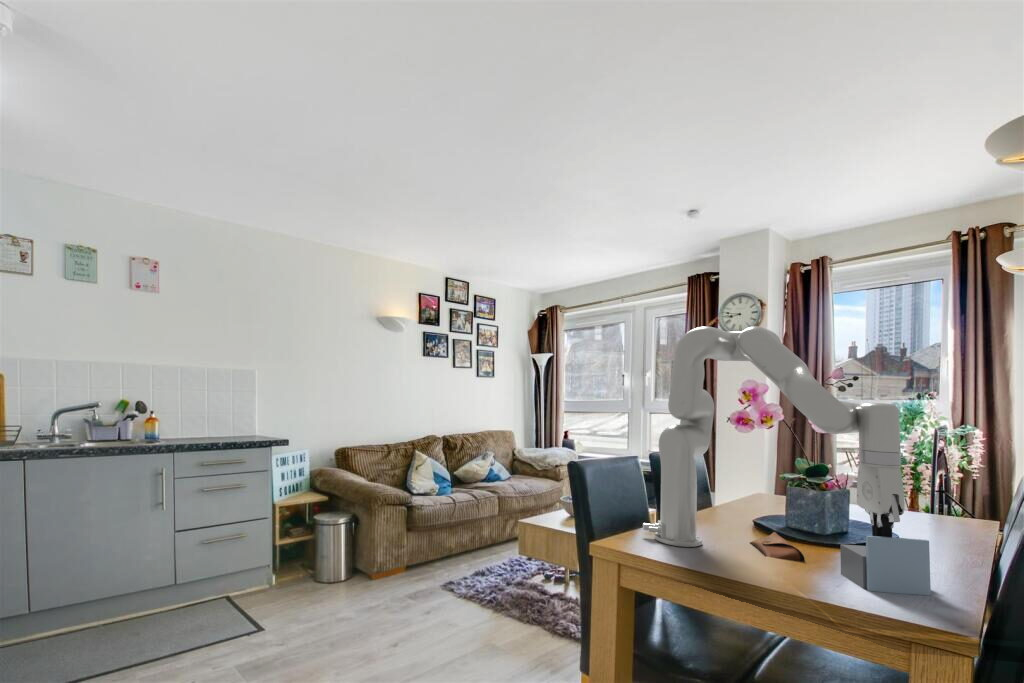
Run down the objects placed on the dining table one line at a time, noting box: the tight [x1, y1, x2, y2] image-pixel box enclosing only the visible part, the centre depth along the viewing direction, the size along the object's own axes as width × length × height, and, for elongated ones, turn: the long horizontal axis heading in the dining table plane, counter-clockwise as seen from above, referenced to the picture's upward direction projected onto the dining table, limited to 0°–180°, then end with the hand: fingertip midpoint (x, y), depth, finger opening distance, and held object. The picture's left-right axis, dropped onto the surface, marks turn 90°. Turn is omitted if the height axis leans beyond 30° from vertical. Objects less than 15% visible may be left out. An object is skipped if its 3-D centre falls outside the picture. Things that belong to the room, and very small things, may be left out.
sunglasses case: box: [749, 531, 806, 563], centre depth 137 cm, size 18×7×7 cm
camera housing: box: [839, 543, 867, 590], centre depth 115 cm, size 15×9×7 cm, turn 84°
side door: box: [865, 535, 932, 596], centre depth 110 cm, size 12×1×11 cm, turn 84°
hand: (882, 545), depth 114 cm, fingers closed
